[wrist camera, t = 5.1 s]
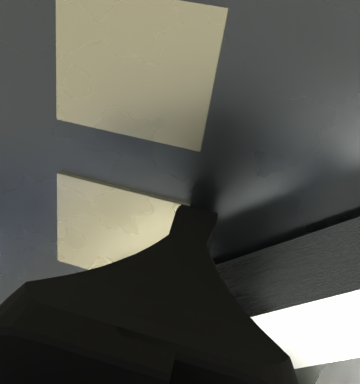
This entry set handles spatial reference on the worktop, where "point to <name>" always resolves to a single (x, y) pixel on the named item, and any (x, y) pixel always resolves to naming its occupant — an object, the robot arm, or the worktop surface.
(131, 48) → the chassis tray
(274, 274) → the swing bar
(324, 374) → the worktop surface
